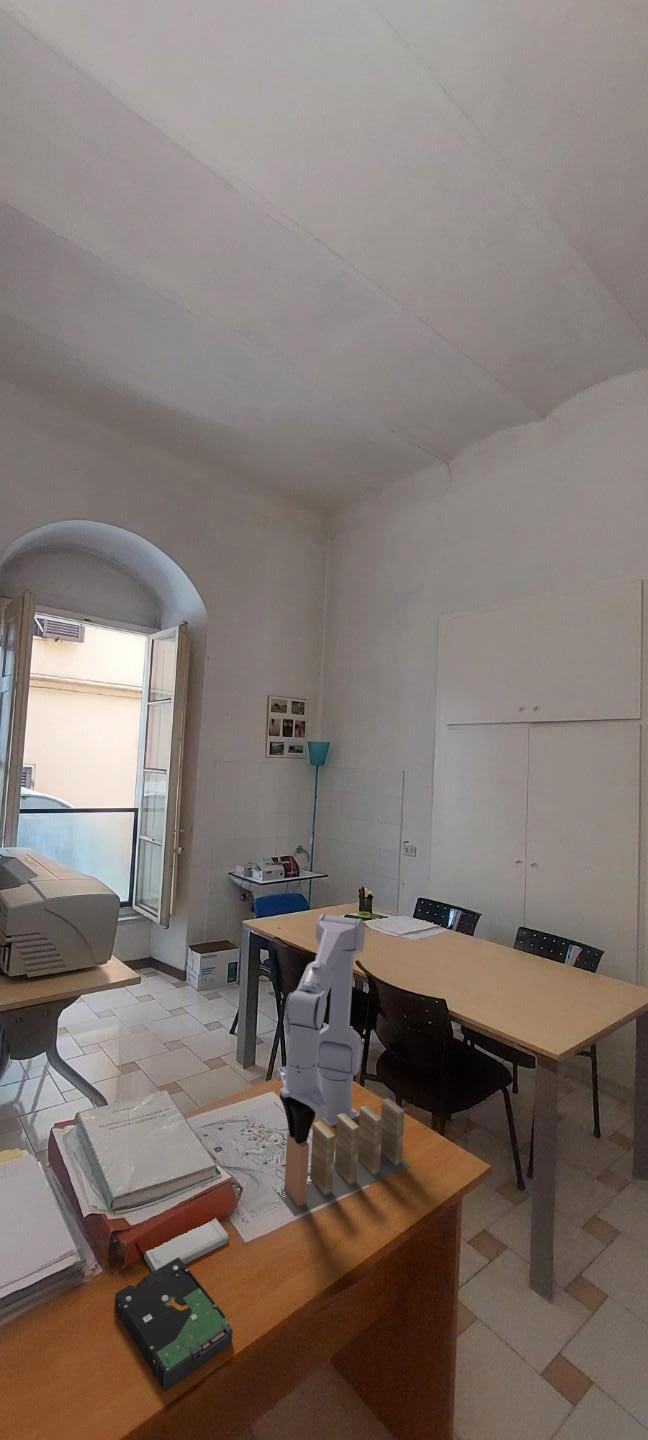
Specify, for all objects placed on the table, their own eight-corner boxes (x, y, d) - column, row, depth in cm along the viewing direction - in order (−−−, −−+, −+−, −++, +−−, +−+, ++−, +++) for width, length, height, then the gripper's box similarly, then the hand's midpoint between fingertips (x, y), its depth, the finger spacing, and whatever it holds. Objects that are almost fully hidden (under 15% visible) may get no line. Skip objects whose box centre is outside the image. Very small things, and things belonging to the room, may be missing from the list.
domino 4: (373, 1175, 117) (375, 1120, 117) (357, 1159, 121) (360, 1107, 121) (379, 1172, 118) (382, 1118, 118) (364, 1157, 122) (366, 1105, 122)
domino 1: (298, 1206, 108) (301, 1147, 108) (284, 1188, 112) (287, 1131, 112) (306, 1203, 109) (309, 1144, 109) (291, 1185, 113) (294, 1129, 113)
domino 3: (349, 1185, 114) (352, 1129, 114) (334, 1168, 118) (337, 1115, 118) (356, 1182, 115) (359, 1126, 115) (341, 1166, 119) (343, 1112, 119)
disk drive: (112, 1314, 87) (164, 1397, 76) (113, 1293, 87) (166, 1373, 76) (177, 1274, 94) (234, 1345, 83) (178, 1255, 94) (235, 1323, 83)
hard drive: (156, 1271, 92) (229, 1235, 100) (135, 1235, 99) (206, 1203, 106) (155, 1283, 92) (228, 1245, 100) (135, 1246, 99) (205, 1213, 106)
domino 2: (324, 1195, 111) (327, 1138, 111) (310, 1178, 115) (313, 1123, 115) (332, 1192, 112) (335, 1135, 112) (317, 1175, 116) (320, 1120, 116)
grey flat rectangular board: (272, 1189, 112) (272, 1186, 112) (383, 1145, 126) (383, 1143, 126) (294, 1218, 106) (294, 1215, 106) (409, 1168, 120) (409, 1166, 120)
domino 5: (395, 1165, 120) (398, 1112, 120) (379, 1151, 124) (381, 1099, 124) (401, 1163, 121) (404, 1110, 121) (385, 1148, 125) (388, 1097, 125)
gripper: (264, 1048, 115) (259, 1123, 115) (304, 1085, 103) (300, 1169, 102) (296, 1040, 119) (292, 1112, 118) (339, 1075, 107) (335, 1156, 106)
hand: (298, 1138), depth 111 cm, fingers closed
